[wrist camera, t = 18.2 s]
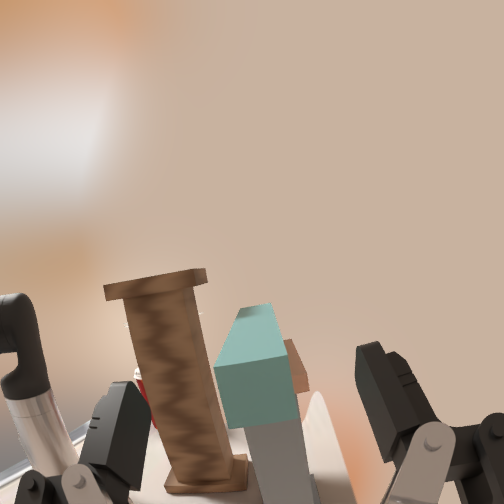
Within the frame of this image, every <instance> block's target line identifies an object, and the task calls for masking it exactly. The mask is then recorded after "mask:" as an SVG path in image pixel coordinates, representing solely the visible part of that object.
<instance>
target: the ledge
mask: <svg viewBox="0 0 504 504" xmlns="http://www.w3.org/2000/svg"><path fill="white" fill-rule="evenodd" d="M283 342H284V345H285V348H286V351H287V354H288V359H289V365H290V371H291V376H292V382H293V388H294V394H295V399H296V405H297V411H298V417H299V418H297V419H292V420H287V421H282V422H276V423H270V424H264V425H257V426H250V427H244V431H245V435H246V439H247V443H248V447H249V451H250V455H251V458H252V462H253V466H254V470H255V473H256V477H257V481H258V484H259V488H260V492H261V495H262V499H263V504H321V502H320V498H319V495H318V491H317V487H316V483H315V479H314V475H313V474H311V475H310V474H309V468H308V462H307V455H306V449H305V443H304V437H303V430H302V424H301V418H300V412H299V407H298V400H297V395H296V394H297V393H302V392H307V391H309V384H308V377H307V372H306V370H305V368H304V366H303V364H302V361H301V359H300V357H299V355H298V353H297V350H296V348H295V346H294V344H293V342H292V339H288V340H283Z"/></svg>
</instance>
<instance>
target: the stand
mask: <svg viewBox="0 0 504 504" xmlns="http://www.w3.org/2000/svg"><path fill="white" fill-rule="evenodd" d="M207 282H208V281H207V276H206V270H205V268H201V269H190V270H184V271H178V272H173V273H167V274H162V275H157V276H151V277H146V278H140V279H135V280H130V281H124V282H119V283H113V284H108V285H104V286H103V287H104V292H105V298H106V301H110V300H116V299H123V301H124V307H125V311H126V316H127V321H128V326H129V330H130V335H131V339H132V343H133V347H134V351H135V355H136V359H137V363H138V367H139V370H140V374H141V378H142V381H143V385H144V388H145V392H146V395H147V398H148V402H149V405H150V408H151V411H152V414H153V417H154V420H155V423H156V426H157V429H158V432H159V435H160V438H161V440H162V443H163V446H164V449H165V451H166V454H167V456H168V459H169V462H170V464H171V467H172V468H171V471H170V473H169V475H168V477H167V479H166V482H165V484H164V487H165V489H166V491H167V493H214V492H231V491H243V490H247V476H248V458H247V454H240V455H233V454H232V450H231V447H230V443H229V440H228V436H227V433H226V429H225V425H224V422H223V418H222V414H221V410H220V406H219V403H218V398H217V395H216V390H215V387H214V383H213V378H212V374H211V370H210V365H209V361H208V357H207V353H206V348H205V344H204V339H203V334H202V330H201V325H200V320H199V315H198V310H197V305H196V300H195V296H194V290H193V286H198V285H201V284H204V283H207Z"/></svg>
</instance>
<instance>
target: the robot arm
mask: <svg viewBox="0 0 504 504" xmlns="http://www.w3.org/2000/svg"><path fill="white" fill-rule="evenodd" d="M11 352H17V356H18V366H17V367H16V369H15V370H14V371H12V372H10V373H9V374H7V375H5V376H4V377H3V378H2V379H1V388H2V391H3V394H4V397H5V400H6V403H7V405H8V408H9V411H10V413H11V416H12V418H13V421H14V423H15V426H16V428H17V430H18V433H19V434H18V439H19V441H20V443H21V445H22V447H23V450H24V452H25V454H26V456H27V458H28V460H29V462H30V464H31V466H32V468H33V470H30V471H27V472H26V473H25V474H24V475H23V476H22V477H21V479H20V483H19V487H18V491H17V495H16V499H15V503H14V504H133V502H132V500H131V499H130V498H129V497H128V496H129V490H132V491H140V489H141V481H142V474H143V468H144V461H145V455H146V448H147V442H148V436H149V431H150V425H151V419H152V414H151V409H150V406H149V404H148V403H147V401H146V400H145V398H144V397H143V396H142V394H141V393H140V391H139V390H138V388H137V387H136V385H135V384H134V383H133V382H132V381H124V382H113V383H112V384H111V385H110V388H109V391H108V394H107V396H103V397H102V398H101V399H100V401H99V402H98V404H97V405H96V406H95V409H94V412H93V415H92V419H91V421H90V425H89V429H88V431H87V434H86V438H85V441H84V444H83V448H82V451H81V455H80V458H79V457H78V455H77V452H76V450H75V448H74V446H73V444H72V441H71V439H70V437H69V434H68V432H67V430H66V427H65V424H64V422H63V420H62V417H61V414H60V412H59V409H58V406H57V403H56V400H55V398H54V395H53V392H52V389H51V386H50V382H49V379H48V374H47V367H46V363H45V359H44V355H43V350H42V346H41V340H40V335H39V329H38V323H37V318H36V314H35V310H34V307H33V304H32V302H31V300H30V299H29V297H28V296H27V295H25V294H23V293H15V294H9V295H2V296H0V354H2V353H11ZM355 381H356V386H357V389H358V392H359V395H360V397H361V400H362V403H363V405H364V408H365V411H366V413H367V416H368V419H369V422H370V424H371V427H372V430H373V433H374V436H375V438H376V441H377V444H378V447H379V450H380V453H381V456H382V459H383V461H384V463H387V462H390V461H393V462H394V465H395V467H396V470H395V472H394V475H393V477H392V480H391V482H390V484H389V486H388V489H387V491H386V493H385V495H384V497H383V499H382V502H381V503H380V504H438V500H439V497H440V494H441V491H442V488H443V485H444V482H448V481H454V482H455V485H456V488H457V491H458V494H459V497H460V501H461V504H504V414H503V413H493V414H490V415H488V416H487V417H486V418H485V419H484V420H483V421H482V423H481V424H477V425H471V426H464V427H451V426H448V425H446V424H444V423H442V422H441V421H440V420H439V419H438V418H437V417H436V415H435V413H434V411H433V409H432V408H431V406H430V404H429V402H428V400H427V398H426V396H425V394H424V392H423V390H422V389H421V387H420V385H419V383H417V379H416V378H415V376H414V374H412V370H411V369H410V367H409V365H408V363H407V361H406V360H405V359H404V358H403V357H401V356H400V355H399V354H397V353H396V352H391V353H387V354H385V352H384V350H383V348H382V346H381V345H380V343H379V342H378V341H376V342H371V343H368V344H365V345H360V346H357V348H356V362H355Z"/></svg>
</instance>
